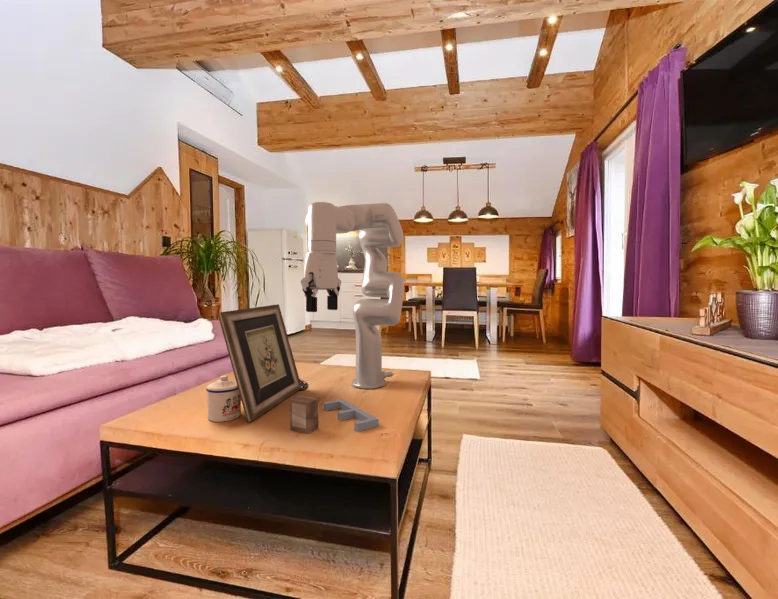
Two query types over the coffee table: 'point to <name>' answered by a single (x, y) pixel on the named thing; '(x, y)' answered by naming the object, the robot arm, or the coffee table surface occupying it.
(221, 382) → the teacup with lid
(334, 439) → the coffee table surface
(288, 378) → the picture frame
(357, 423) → the grey e-shaped bracket
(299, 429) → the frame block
